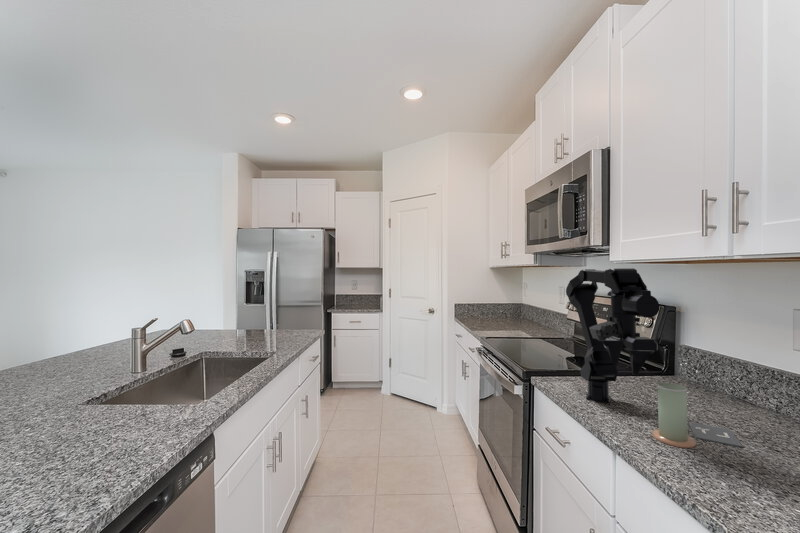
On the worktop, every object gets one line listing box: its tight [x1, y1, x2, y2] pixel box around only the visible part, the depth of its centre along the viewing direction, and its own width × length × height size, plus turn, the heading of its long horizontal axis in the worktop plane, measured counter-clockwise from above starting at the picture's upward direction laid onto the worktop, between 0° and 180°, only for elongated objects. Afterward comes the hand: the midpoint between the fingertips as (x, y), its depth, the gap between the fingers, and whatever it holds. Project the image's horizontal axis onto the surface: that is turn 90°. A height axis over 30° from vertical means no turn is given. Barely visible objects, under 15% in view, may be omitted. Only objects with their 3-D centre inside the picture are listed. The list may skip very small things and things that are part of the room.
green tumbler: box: [656, 382, 689, 442], centre depth 81 cm, size 6×6×12 cm
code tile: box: [688, 421, 743, 448], centre depth 83 cm, size 10×8×1 cm
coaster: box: [652, 428, 697, 449], centre depth 80 cm, size 8×8×1 cm
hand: (624, 369), depth 93 cm, fingers open, 9 cm apart
